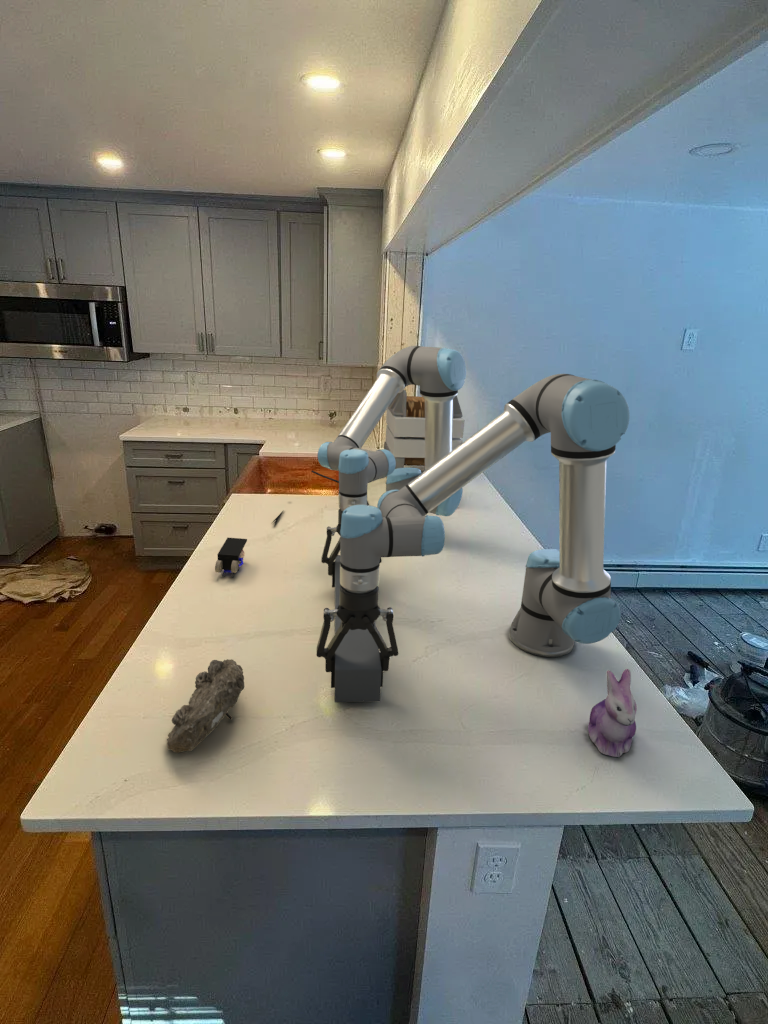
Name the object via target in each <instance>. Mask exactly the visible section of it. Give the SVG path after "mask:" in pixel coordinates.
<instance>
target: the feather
mask: <svg viewBox="0 0 768 1024" xmlns="http://www.w3.org/2000/svg"><path fill="white" fill-rule="evenodd" d="M283 512H284V509H282V511H281V512H280V513H279V514H278V516H276V517H275V518H274V519H273V521H272V522H271V524H273V523H274V527H276V525H277V523H278V522H279V520H280V518H281V516H282V514H283Z"/></svg>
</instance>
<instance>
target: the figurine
mask: <svg viewBox="0 0 768 1024" xmlns="http://www.w3.org/2000/svg"><path fill="white" fill-rule="evenodd" d="M605 674H606V690H607V692H606V693H607V695H606V696H605V698H604V699H603V700H601V701H599V702H597V703H596V704H595V705H593V707H592V708H591V710H590V713H589V720H588V725H587V730H588V736H589V738H590V741H591V742H592V743H593V744H594V745H595V746H596V748H597V750H598V751H599V752H600V754H603V755H606V756H609V757H613V758H617V757H618V758H620V757H621V756H622V755H623V754H626V753H629V751H630V749H631V746H632V742H633V737H635V735H636V732H637V723H636V714H637V711H638V707H637V701H636V699H635V697H634V694H633V693H632V690H631V681H632V678H631V677H632V674H631V670H630V669H629V668H625V669H624V670H623V671H622V673H621V676H620V678H619V680H618V679H617V677H616V675H615V674H614V673H613V672H612V670H609V669H608V670H606V673H605Z"/></svg>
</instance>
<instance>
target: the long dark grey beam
mask: <svg viewBox="0 0 768 1024" xmlns="http://www.w3.org/2000/svg"><path fill="white" fill-rule="evenodd" d="M334 562H335V587H334V609H337V608H338V606H339V602H340V585H341V584H340V554H338V555H337V557H336V559H335V560H334ZM341 622H342V621H341V620H340V618H339V617H338V616H336V617H335V618H334V634H335V633H336V632H337V630H338V628H339V627H340V624H341ZM376 624H377V623H376V622H375V625H376ZM376 626H377V625H376ZM379 652H380V650H379V648H378V646H377V644H376V643H375V641H374V639H373V637H372V635H371V634H370V633H369V631H368V629H366V630H361V629H356V630H350V629H349V631H348V633H347V634H346V635H345V636H344V638H343V640H342V641H341V643H340V645H339V646H338V648H337V650H336V651H335V688H334V703H366V702H367V703H368V702H371V703H372V702H381V691H382V690H381V689H382V687H381V662H380V654H379Z"/></svg>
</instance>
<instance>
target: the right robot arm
mask: <svg viewBox="0 0 768 1024" xmlns="http://www.w3.org/2000/svg"><path fill="white" fill-rule="evenodd" d="M503 407H504V408H503V412H502V413H500V414H498V415H497V416H496V417H495V418H494V419H492V420H491V421H490V422H488V423H487V424H486V425H484V426H483V427H482V428H480V429H479V430H478V431H476V432H475V433H473V434H472V435H470V437H468V438H467V439H466V440H464V441H463V443H462V444H460V445H459V446H458V447H456V448H455V449H454V450H452V451H451V452H450V453H448V454H447V455H446V456H444V457H443V458H442V459H440V460H439V461H438V462H436V463H435V464H434V465H432V466H431V467H430V468H428V469H427V470H426V471H425V470H423V471H424V472H423V471H422V472H423V473H422V472H421V473H422V474H420V475H419V476H418V477H416V478H415V479H414V480H413V481H411V482H410V483H409V484H407V485H406V486H404V487H403V488H402V489H400V490H390V491H387V492H386V491H385V492H384V493H382V495H381V496H380V497H379V499H378V500H377V506H374V505H369V506H366V505H353V506H350V507H348V508H346V509H345V510H344V511H343V513H342V519H341V530H340V535H339V538H340V552H339V553H340V554H339V555H340V584H341V585H340V602H339V606H338V608H337V609H335V608H334V609H330V608H329V607H324V608H323V623H322V627H321V630H320V635H319V637H318V641H317V644H316V654H315V655H316V657H317V658H324V659H325V672H326V673H330V688H331V689H335V651H336V650H337V648H338V646H339V645H340V643H341V641H342V640H343V638H344V636H345V635H346V634H347V633H348V631H349V629H350V630H356V629H361V630H366V629H368V631H369V633H370V634H371V635H372V637H373V639H374V641H375V643H376V644H377V646H378V648H379V654H380V662H381V688H383V687H384V686H383V685H384V684H383V683H384V672H388V671H389V668H390V660H391V657H393V656H394V657H398V656H399V654H400V653H399V648H398V644H397V638H396V634H395V628H394V624H393V622H394V616H395V614H394V610H393V608H392V607H391V606H388V607H387V608H386V609H385V608H380V606H379V592H380V591H379V590H380V587H379V585H380V565H381V563H380V558H381V559H382V558H393V557H394V558H395V557H396V558H397V557H426V556H433V555H439V554H441V552H443V550H444V547H445V543H446V532H445V525H444V522H443V520H442V519H441V517H440V516H439V515H429V514H430V513H429V512H430V511H431V510H433V509H434V508H435V507H437V506H438V505H439V504H441V503H442V502H443V501H445V500H446V499H447V498H449V497H450V496H451V495H453V494H454V493H456V492H457V491H458V490H460V489H461V488H464V487H465V486H466V485H468V484H469V483H471V482H472V481H474V480H475V479H476V478H478V477H480V475H481V474H483V473H484V472H486V471H487V470H488V469H490V468H491V467H493V466H494V465H496V463H498V462H499V461H501V459H503V458H504V457H506V456H507V455H508V454H510V453H511V452H513V451H514V450H515V449H517V448H518V447H519V446H521V445H522V444H523V443H525V442H528V443H529V442H530V443H533V442H535V441H536V440H537V439H538V438H540V437H541V436H544V435H546V434H550V453H551V455H552V456H553V457H554V458H555V459H557V461H558V503H559V504H558V509H559V511H558V514H559V515H558V516H559V517H558V520H559V523H558V524H559V525H558V526H559V529H558V530H559V531H558V533H559V535H558V537H559V542H558V543H559V544H558V545H559V547H558V548H559V549H555V548H554V549H553V548H543V549H536V550H534V551H532V552H530V553H529V555H528V557H527V559H526V564H525V571H524V572H525V574H524V580H523V588H522V596H521V603H520V607H519V609H518V610H517V613H516V615H515V617H514V618H513V620H512V622H511V624H510V627H509V633H508V634H509V635H508V636H509V639H510V641H511V643H513V645H515V646H516V647H517V648H519V649H520V650H522V651H524V652H526V653H529V654H531V655H534V656H538V657H545V658H558V657H562V656H566V655H568V654H570V652H572V651H573V649H574V645H575V642H576V643H578V644H581V645H582V644H583V645H590V644H595V643H598V642H600V641H603V640H605V639H606V638H608V637H609V636H610V635H611V633H614V631H615V630H616V629H617V628H618V626H619V624H620V622H621V618H622V611H621V607H620V605H619V604H618V602H617V601H616V600H615V599H614V598H612V596H611V591H612V578H611V575H610V574H609V572H608V571H606V570H605V569H604V563H605V561H604V558H605V554H604V553H605V525H606V493H607V492H606V491H607V489H606V488H607V487H606V486H607V461H608V460H609V459H610V458H611V457H612V456H613V455H614V454H615V453H616V449H617V447H616V446H617V444H618V443H619V442H620V441H621V440H622V436H623V435H625V434H626V432H627V431H628V427H629V423H630V406H629V403H628V402H627V399H626V398H625V396H624V394H623V393H622V392H621V391H620V390H619V389H617V388H616V387H615V386H613V385H611V384H608V383H607V382H604V381H602V380H599V379H594V378H593V379H592V378H586V377H582V376H577V375H574V374H571V373H556V374H552V375H549V376H546V377H544V378H542V379H540V380H538V381H537V382H535V383H534V384H532V385H531V386H529V387H528V388H526V389H525V390H522V391H521V392H520V393H518V394H517V395H516V396H515V397H514V398H512V399H511V400H510V401H508V402H506V403H505V404H504V406H503ZM336 616H338V617H339V618H340V620H341V621H342V622H341V624H340V627H339V628H338V630H337V632H336V633H335V632H334V635H333V637H332V638H331V640H330V641H329V643H328V645H327V646H326V644H327V641H328V637H329V633H330V629H331V624H332V623H333V622H335V617H336ZM379 617H381V618H382V621H383V622H385V625H386V630H387V635H388V640H389V644H390V646H388V645H387V643H386V641H385V640H384V638H383V636H382V634H381V633H380V630H379V629H378V627H377V625H375V623H376V620H378V618H379Z"/></svg>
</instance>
